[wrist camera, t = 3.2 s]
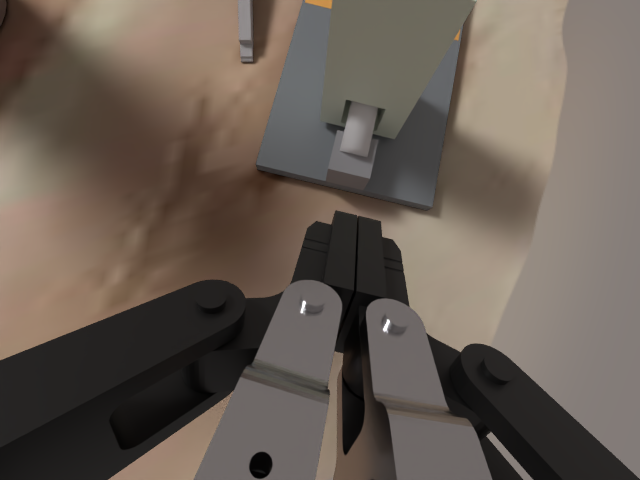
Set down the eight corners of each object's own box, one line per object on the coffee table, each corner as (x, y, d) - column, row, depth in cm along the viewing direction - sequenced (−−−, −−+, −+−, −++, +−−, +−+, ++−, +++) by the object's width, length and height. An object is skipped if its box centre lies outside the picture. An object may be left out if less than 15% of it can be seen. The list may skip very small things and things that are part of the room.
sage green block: (320, 121, 24) (335, -35, 13) (333, 66, 25) (360, -125, 14) (394, 139, 24) (476, 1, 13) (405, 83, 25) (491, -91, 14)
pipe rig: (257, 169, 25) (247, 142, 20) (324, -65, 29) (328, -128, 25) (427, 210, 25) (453, 192, 20) (468, -28, 29) (497, -84, 25)
